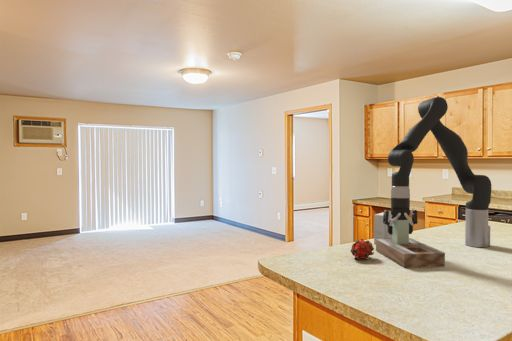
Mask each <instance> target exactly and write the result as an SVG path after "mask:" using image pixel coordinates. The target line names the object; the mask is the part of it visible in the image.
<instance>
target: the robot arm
mask: <svg viewBox="0 0 512 341" xmlns="http://www.w3.org/2000/svg"><path fill="white" fill-rule="evenodd" d="M448 106H449V105H448V102H447V100H446V99H445V98H443V97H442V96H435V97H432V98H430V99H426V100H423V101H422V102H419V103H418V106H417V112H418V114H419V117H420V118H421V119H420V120H419V121H418V122H417V123H416V124H414V125H413V126H412V127H411V128H410V129H409V130H408V132H407V133H406V135H404V137H403V139H402V140H401V141H400V142H399V143H397V144H396V145H395V146H394V147H393V148H392V149H391V150H390V151H389V153H388V155H387V163H388V164H389V165H390V166H392V167H399V169H398V170H397V171H395V172H393V173H392V174H391V189H390V210H387V209H384V210H383V212H384V214H383V223H384V224H386V225H387V226H388V233H389V234H390V235H392V234H393V226H392V225H393V223H394V222H395V221H396V220H406V219H407V220H409V235H412V234H413V233H414V225H417V224H418V222H419V221H418V210H416V209H410V208H411V205H410V204H411V193H410V175H411V172H412V169H413V165H414V160H415V159H414V158H415V157H414V154H413V153H414V152H415V151H417V149H418V148H419V146H420V145H421V144H422V142H423V140H424V139H425V137H426V136H427V135H428V133H429V132H431V133H432V135H433V137H434V138H435V140H436V141H437V142H438V144H439V146H440V148H441V150H442V152H443V153H444V155H445V157H446V158H447V160H448V161H449V162H448V163H450V165H451V167H452V168H453V171H454V172H455V174H456V177H457V179H458V181H459V184H460V186H461V187H462V189H463V191H464V192H466V193H467V194H471V195H472V198H471V200H469V201H467V202H465V221H464V222H465V225H464V226H465V227H464V228H465V229H464V230H465V231H464V232H465V234H464V237H465V239H464V240H465V241H464V243H465V245H466V246H469V247H475V248H487V247H491V225H489V206H490V204H491V200H492V180H491V179H490V178H489V176H487V175H483V174H475V173H474V172H473V171H472V169H471V167H470V166H469V163H468V158H469V157H468V154H469V152H468V148H467V146H466V144H465V142H464V141H463V139H462V137H461V136H460V135H459V134H457V133H456V132H455V131H453V130H452V129H451V128H449V127H448V126H446V125H445V124H443V123H442V120H441V119H442V118H443V117H444V116H445V115H446V114H447V111H448V109H449V107H448ZM390 213H391V215H392V216H391V218H390V219H389V221H388V217H389V215H390ZM410 215H411V218H410Z"/></svg>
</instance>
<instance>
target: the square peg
mask: <svg viewBox="0 0 512 341" xmlns="http://www.w3.org/2000/svg"><path fill="white" fill-rule="evenodd" d="M392 226H393V234H392V242H394V243H396V244H409V238H410V234H409V220H407V219H406V220H396V221H395V222H394V223H393V225H392Z"/></svg>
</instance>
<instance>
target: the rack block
mask: <svg viewBox="0 0 512 341" xmlns="http://www.w3.org/2000/svg"><path fill="white" fill-rule="evenodd" d="M375 251H376V253H379V254H380V255H382V256H383V257H385V258H388V259H389V260H390V261H391V262H393V263H395V264H397V265H399V266H400V267H402V268H403V269H405V268H406V269H408V268H410V269H411V268H413V269H414V268H415V269H416V268H437V267H439V268H441V267H443V268H444V267H446V252H444V251H442V250H439V249H437V248H435V247H433V246H430V245H428V244H425V243H424V242H423V243H422V242H421V241H418V240H416V239H413V238H411V237H409V244H396V243H394V242H392V239H376V244H375Z"/></svg>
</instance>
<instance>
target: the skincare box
mask: <svg viewBox="0 0 512 341" xmlns="http://www.w3.org/2000/svg"><path fill="white" fill-rule="evenodd" d="M383 214H384V211H382V212H380V213H376V214H374V217H373V219H374V222H373V223H374V224H373V227H374V228H373V231H374V232H373V244H374V245H376V239H392V235H390V234H389V233H388V226H387V225H386V224H384V223H383ZM391 216H392V215H391V213H390V215H389V217H388V221H389V219H390V218H391Z"/></svg>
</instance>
